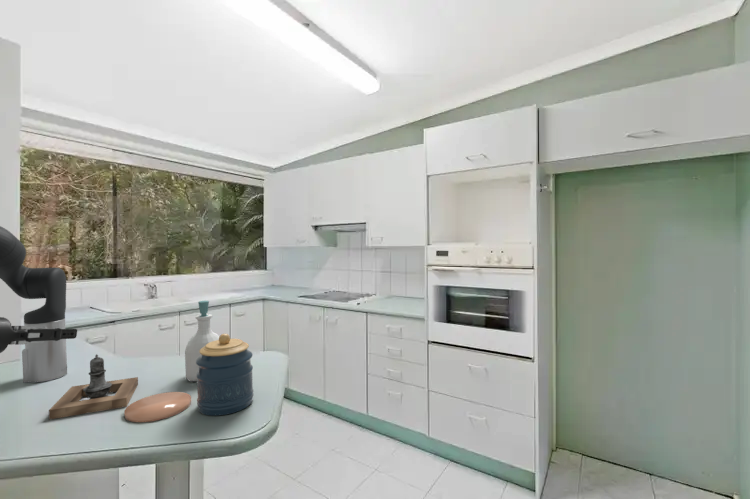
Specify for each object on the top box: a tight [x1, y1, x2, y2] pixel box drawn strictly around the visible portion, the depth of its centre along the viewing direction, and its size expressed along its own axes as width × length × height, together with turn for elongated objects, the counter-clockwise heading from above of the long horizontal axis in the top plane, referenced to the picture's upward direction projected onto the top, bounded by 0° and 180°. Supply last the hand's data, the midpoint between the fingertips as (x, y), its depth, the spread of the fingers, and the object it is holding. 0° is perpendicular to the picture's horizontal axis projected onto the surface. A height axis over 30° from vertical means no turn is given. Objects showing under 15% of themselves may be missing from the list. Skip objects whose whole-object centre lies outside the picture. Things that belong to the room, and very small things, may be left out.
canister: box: [196, 333, 254, 417], centre depth 90 cm, size 13×13×18 cm
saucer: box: [124, 391, 192, 423], centre depth 89 cm, size 14×14×1 cm
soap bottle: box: [184, 300, 220, 382], centre depth 109 cm, size 10×10×23 cm
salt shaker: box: [83, 353, 112, 399], centre depth 94 cm, size 6×6×12 cm
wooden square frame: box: [48, 376, 139, 420], centre depth 94 cm, size 15×15×2 cm
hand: (63, 333), depth 87 cm, fingers open, 8 cm apart
